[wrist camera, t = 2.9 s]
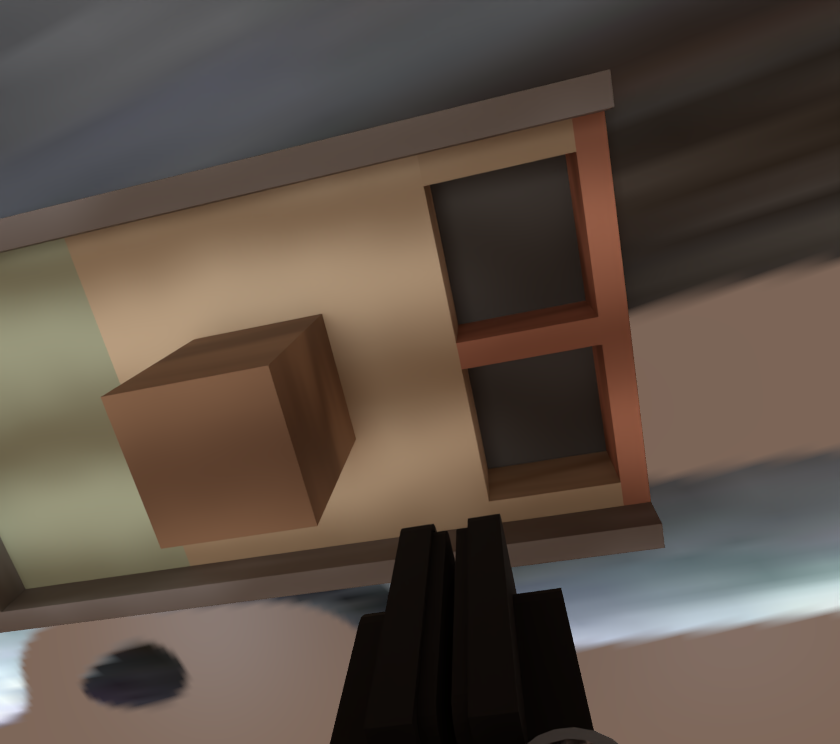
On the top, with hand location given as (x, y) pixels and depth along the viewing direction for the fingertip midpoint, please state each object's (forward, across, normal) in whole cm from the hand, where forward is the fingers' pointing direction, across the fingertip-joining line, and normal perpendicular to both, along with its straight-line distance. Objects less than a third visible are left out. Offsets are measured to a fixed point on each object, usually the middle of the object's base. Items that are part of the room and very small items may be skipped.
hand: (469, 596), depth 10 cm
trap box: (+16, +8, -1) cm, 18 cm away
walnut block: (+13, +7, -1) cm, 15 cm away
